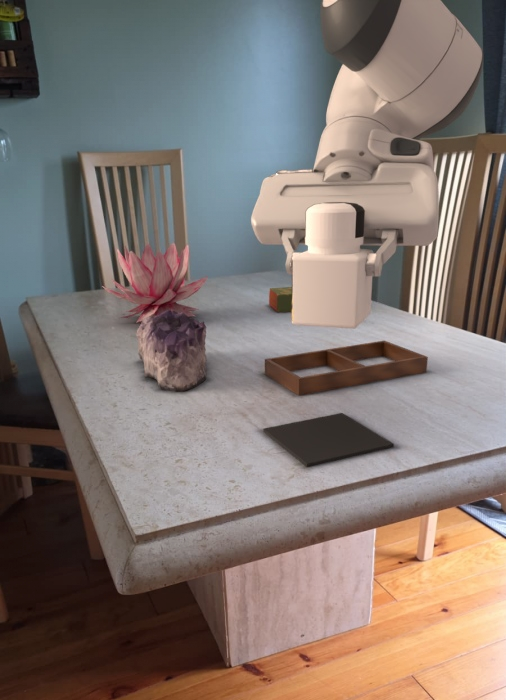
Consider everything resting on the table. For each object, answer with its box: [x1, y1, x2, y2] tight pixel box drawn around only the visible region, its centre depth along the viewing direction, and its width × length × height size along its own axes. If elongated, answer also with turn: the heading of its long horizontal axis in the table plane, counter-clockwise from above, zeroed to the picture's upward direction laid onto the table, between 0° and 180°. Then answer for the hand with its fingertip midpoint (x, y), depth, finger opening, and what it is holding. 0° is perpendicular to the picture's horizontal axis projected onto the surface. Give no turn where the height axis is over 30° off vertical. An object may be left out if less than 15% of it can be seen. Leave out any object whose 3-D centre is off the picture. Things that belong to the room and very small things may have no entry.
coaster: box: [262, 412, 395, 468], centre depth 72 cm, size 11×11×1 cm
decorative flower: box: [101, 242, 209, 324], centre depth 130 cm, size 21×21×15 cm
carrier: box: [264, 340, 429, 396], centre depth 94 cm, size 22×11×2 cm, turn 114°
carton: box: [268, 286, 292, 314], centre depth 139 cm, size 8×16×4 cm, turn 100°
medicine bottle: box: [291, 202, 374, 330], centre depth 66 cm, size 7×7×12 cm
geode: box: [136, 310, 207, 393], centre depth 96 cm, size 20×12×10 cm, turn 14°
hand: (332, 272), depth 65 cm, fingers closed on medicine bottle, 7 cm apart
